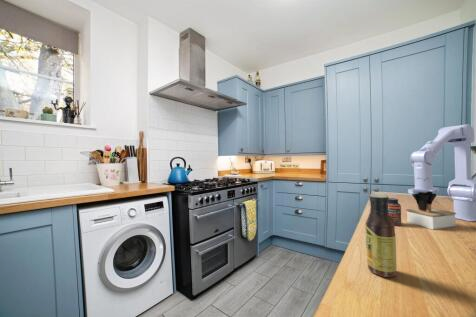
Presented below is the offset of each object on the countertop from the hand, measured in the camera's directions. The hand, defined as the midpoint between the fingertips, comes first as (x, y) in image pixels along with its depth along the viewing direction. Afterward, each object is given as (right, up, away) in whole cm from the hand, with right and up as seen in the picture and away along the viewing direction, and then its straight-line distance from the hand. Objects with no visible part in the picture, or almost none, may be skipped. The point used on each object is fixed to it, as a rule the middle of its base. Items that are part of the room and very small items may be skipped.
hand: (424, 209), depth 85 cm
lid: (+3, -1, +1) cm, 3 cm away
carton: (+3, -7, 0) cm, 7 cm away
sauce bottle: (-44, -7, -34) cm, 56 cm away
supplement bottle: (-12, -7, +3) cm, 14 cm away
